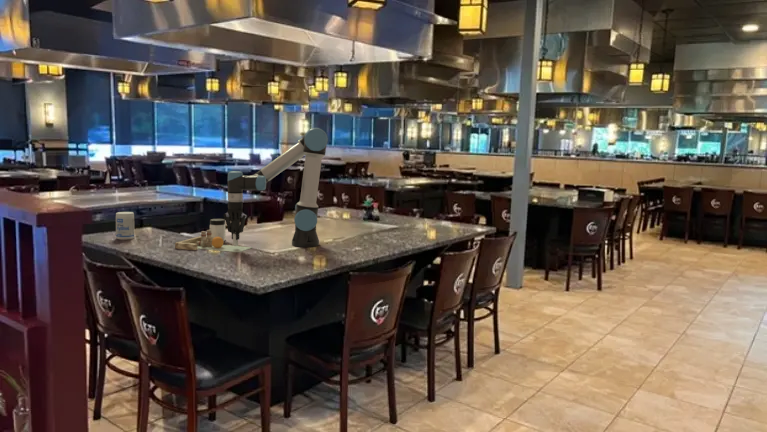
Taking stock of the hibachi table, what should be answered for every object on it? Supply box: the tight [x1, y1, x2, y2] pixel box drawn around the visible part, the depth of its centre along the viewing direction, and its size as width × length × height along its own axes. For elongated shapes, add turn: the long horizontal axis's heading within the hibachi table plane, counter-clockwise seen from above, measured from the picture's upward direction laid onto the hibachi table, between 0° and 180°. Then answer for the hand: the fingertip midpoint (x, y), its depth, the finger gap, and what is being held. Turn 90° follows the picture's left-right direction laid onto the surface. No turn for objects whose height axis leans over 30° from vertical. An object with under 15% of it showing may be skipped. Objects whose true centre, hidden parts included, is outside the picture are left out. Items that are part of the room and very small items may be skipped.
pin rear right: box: [206, 229, 212, 242], centre depth 308 cm, size 2×2×8 cm
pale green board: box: [197, 244, 253, 253], centre depth 304 cm, size 32×14×1 cm, turn 74°
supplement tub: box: [115, 211, 135, 241], centre depth 321 cm, size 10×10×15 cm
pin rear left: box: [200, 230, 207, 247], centre depth 303 cm, size 2×2×8 cm
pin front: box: [196, 241, 213, 247], centre depth 306 cm, size 2×2×8 cm
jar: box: [209, 218, 226, 242], centre depth 324 cm, size 9×8×12 cm
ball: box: [212, 237, 225, 248], centre depth 303 cm, size 6×6×6 cm
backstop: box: [174, 235, 214, 251], centre depth 307 cm, size 12×22×3 cm, turn 164°
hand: (235, 245), depth 301 cm, fingers closed
